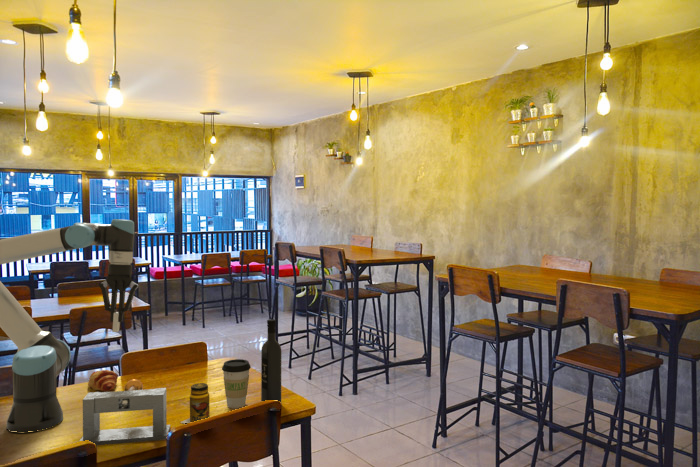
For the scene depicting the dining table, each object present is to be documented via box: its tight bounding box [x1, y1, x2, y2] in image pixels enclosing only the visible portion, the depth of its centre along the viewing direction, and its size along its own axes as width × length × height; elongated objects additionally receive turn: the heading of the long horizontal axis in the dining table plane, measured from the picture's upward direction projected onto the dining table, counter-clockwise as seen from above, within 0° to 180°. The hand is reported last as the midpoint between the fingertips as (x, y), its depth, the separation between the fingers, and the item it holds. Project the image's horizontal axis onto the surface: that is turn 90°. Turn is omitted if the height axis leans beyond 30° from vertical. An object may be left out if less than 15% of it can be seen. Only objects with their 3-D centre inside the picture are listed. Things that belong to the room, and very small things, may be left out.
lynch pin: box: [120, 378, 144, 407], centre depth 156 cm, size 5×14×5 cm, turn 12°
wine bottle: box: [260, 318, 282, 403], centre depth 178 cm, size 6×6×30 cm
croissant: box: [87, 369, 119, 392], centre depth 196 cm, size 21×10×8 cm, turn 41°
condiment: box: [180, 382, 210, 425], centre depth 163 cm, size 7×8×12 cm
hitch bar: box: [79, 387, 171, 446], centre depth 151 cm, size 24×8×13 cm, turn 102°
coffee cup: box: [221, 358, 251, 409], centre depth 177 cm, size 10×10×15 cm
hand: (115, 331), depth 176 cm, fingers closed
